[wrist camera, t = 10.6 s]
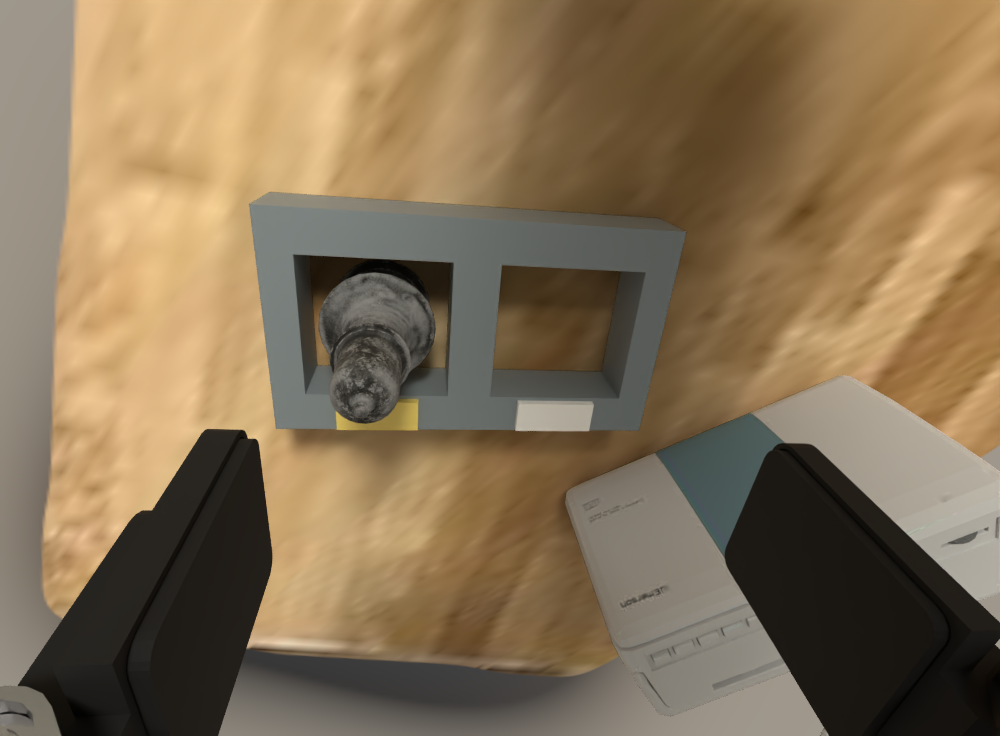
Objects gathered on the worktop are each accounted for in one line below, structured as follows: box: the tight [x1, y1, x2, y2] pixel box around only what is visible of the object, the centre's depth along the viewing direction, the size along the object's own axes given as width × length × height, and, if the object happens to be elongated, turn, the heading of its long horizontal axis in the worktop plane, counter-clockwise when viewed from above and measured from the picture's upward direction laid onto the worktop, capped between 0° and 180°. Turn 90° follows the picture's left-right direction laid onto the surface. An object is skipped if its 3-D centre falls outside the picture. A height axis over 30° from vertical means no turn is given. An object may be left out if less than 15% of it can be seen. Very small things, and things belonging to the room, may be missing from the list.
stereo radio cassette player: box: [565, 375, 1000, 736], centre depth 30 cm, size 21×8×20 cm, turn 113°
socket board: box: [249, 192, 686, 431], centre depth 29 cm, size 12×21×4 cm, turn 85°
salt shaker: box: [319, 260, 436, 424], centre depth 25 cm, size 6×6×12 cm
